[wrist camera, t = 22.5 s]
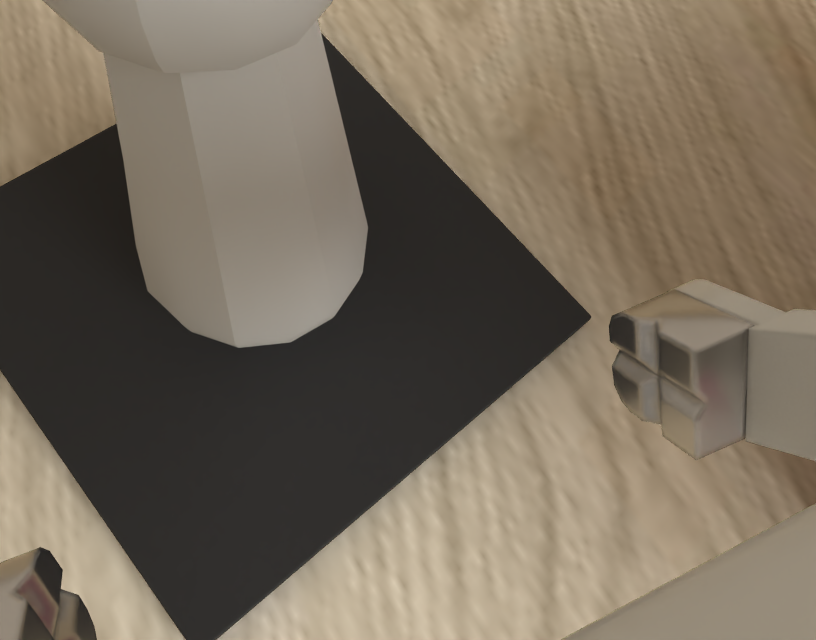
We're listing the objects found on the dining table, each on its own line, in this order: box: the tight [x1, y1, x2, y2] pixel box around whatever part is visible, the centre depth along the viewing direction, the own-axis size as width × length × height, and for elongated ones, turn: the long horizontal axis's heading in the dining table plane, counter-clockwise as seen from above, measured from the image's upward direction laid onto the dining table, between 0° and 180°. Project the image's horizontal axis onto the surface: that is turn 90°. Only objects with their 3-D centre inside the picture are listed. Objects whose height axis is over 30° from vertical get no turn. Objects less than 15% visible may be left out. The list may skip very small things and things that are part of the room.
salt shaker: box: [43, 0, 368, 348], centre depth 13 cm, size 6×6×13 cm
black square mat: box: [0, 33, 591, 640], centre depth 20 cm, size 14×14×1 cm
